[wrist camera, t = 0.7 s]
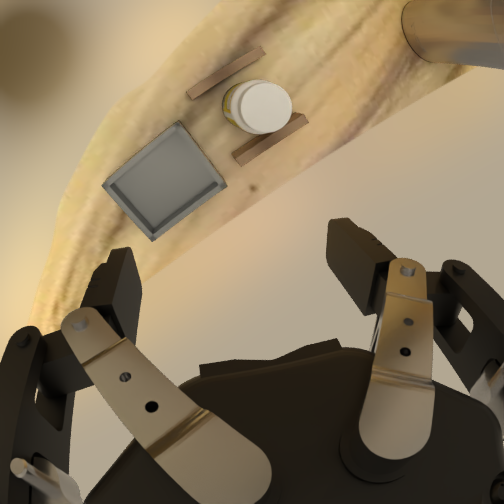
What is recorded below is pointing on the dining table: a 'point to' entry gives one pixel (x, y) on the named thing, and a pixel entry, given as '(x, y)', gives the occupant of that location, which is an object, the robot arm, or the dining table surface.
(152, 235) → the tray
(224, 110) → the supplement bottle
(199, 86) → the slot rails
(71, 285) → the dining table surface
